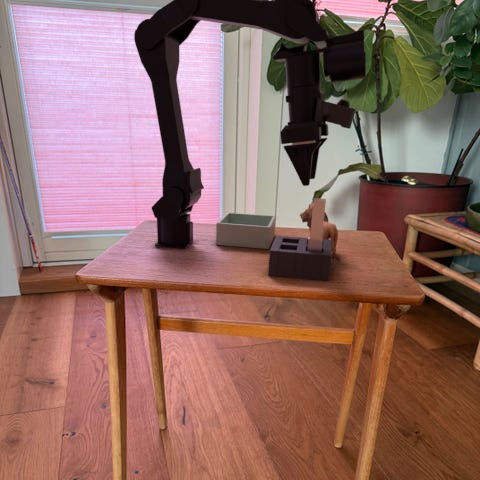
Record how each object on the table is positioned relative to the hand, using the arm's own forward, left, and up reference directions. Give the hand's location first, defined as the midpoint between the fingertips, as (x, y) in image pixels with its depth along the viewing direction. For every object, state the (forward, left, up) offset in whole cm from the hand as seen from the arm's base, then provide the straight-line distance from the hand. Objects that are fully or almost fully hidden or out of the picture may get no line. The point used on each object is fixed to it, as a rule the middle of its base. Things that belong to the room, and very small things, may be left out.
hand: (309, 182), depth 83 cm
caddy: (0, -7, -15) cm, 16 cm away
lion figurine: (+3, +5, -15) cm, 16 cm away
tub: (-13, +10, -15) cm, 22 cm away
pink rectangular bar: (+2, -9, -15) cm, 17 cm away
